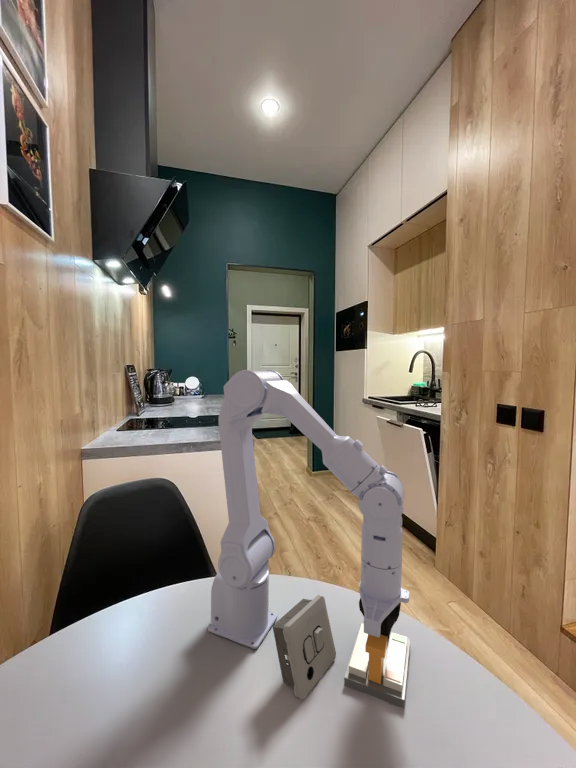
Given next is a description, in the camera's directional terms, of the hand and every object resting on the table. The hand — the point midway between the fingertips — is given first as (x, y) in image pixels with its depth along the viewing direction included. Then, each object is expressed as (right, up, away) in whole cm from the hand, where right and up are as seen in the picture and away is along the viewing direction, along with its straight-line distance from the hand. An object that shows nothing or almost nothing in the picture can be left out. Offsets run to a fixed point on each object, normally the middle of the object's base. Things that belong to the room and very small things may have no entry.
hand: (378, 648), depth 50 cm
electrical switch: (-11, -4, 0) cm, 12 cm away
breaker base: (0, -3, +1) cm, 4 cm away
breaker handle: (-1, -2, -2) cm, 3 cm away
